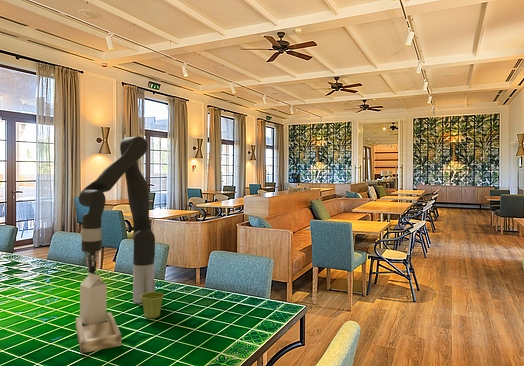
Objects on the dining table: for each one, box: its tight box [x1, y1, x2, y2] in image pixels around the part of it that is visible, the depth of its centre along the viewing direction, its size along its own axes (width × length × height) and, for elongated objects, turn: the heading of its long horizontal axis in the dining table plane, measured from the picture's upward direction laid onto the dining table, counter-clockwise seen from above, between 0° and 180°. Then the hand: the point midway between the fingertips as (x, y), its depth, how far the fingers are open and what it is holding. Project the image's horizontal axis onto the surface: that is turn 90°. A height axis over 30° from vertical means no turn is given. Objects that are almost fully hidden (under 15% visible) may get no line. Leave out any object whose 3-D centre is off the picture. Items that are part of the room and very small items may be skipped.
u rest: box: [75, 311, 123, 354], centre depth 140 cm, size 13×24×4 cm, turn 29°
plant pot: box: [140, 291, 165, 319], centre depth 160 cm, size 9×9×9 cm
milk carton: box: [79, 273, 108, 326], centre depth 152 cm, size 7×7×19 cm
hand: (91, 281), depth 157 cm, fingers closed
